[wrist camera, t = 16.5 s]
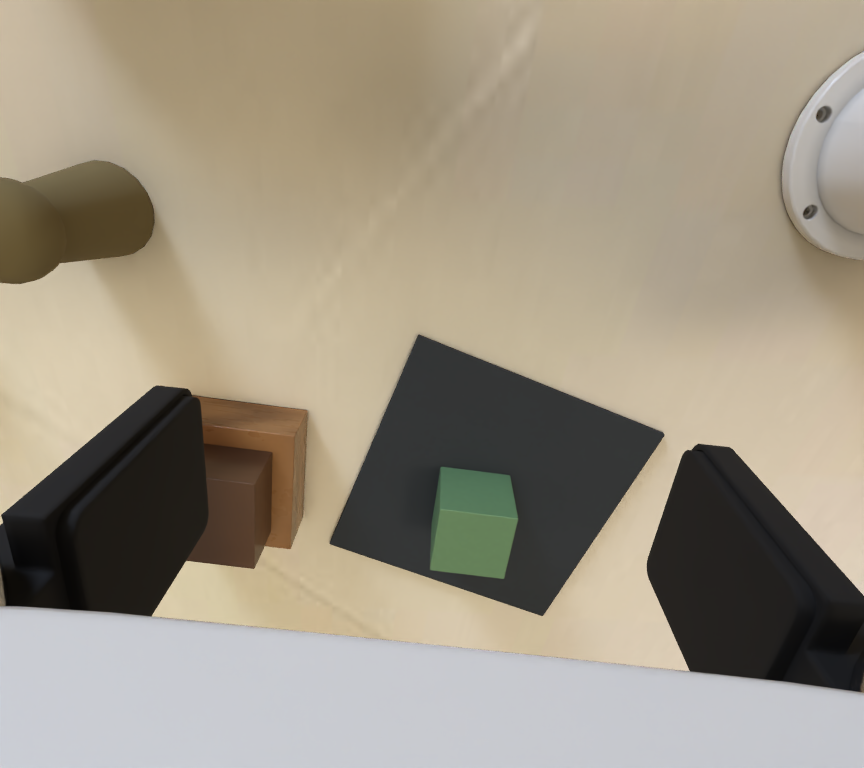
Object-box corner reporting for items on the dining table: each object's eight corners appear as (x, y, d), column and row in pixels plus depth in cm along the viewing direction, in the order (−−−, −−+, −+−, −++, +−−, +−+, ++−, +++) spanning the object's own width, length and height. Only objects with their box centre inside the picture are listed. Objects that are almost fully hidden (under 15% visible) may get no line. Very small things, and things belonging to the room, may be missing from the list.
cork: (151, 266, 38) (45, 312, 28) (61, 243, 38) (-80, 281, 27) (157, 175, 36) (43, 189, 26) (60, 148, 35) (-95, 153, 25)
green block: (510, 474, 44) (518, 518, 39) (497, 530, 46) (504, 579, 41) (440, 466, 43) (439, 509, 38) (431, 522, 46) (429, 570, 41)
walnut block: (272, 451, 39) (254, 484, 35) (271, 531, 42) (254, 569, 38) (172, 439, 39) (143, 470, 35) (177, 520, 42) (151, 556, 38)
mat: (663, 432, 42) (665, 435, 42) (542, 612, 50) (542, 616, 50) (418, 334, 40) (418, 336, 39) (330, 541, 47) (329, 544, 47)
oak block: (307, 410, 42) (294, 436, 39) (302, 516, 46) (290, 549, 43) (175, 393, 42) (149, 417, 38) (181, 502, 46) (158, 533, 42)
